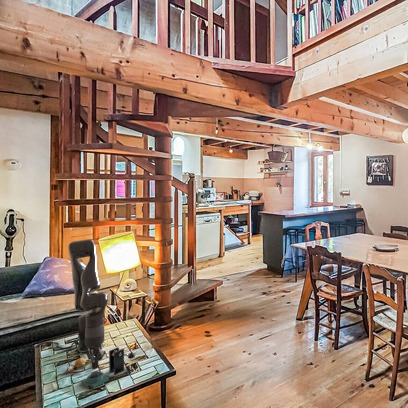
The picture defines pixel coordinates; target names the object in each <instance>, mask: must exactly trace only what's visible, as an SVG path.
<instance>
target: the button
mask: <svg viewBox="0 0 408 408" xmlns="http://www.w3.org/2000/svg"><path fill="white" fill-rule="evenodd" d="M100 372H101V371H99V370H95V371H93V372H91V373H90V375H91V378H97V377H99V376H100Z"/></svg>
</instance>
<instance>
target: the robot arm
mask: <svg viewBox="0 0 408 408" xmlns="http://www.w3.org/2000/svg"><path fill="white" fill-rule="evenodd" d="M67 250H68V256H69V260H70V265H71V278H72V285H73V291H74V292H73V293H74V309H75V310H76V311H88V312H86V313H84V314H81V315H80V316H78V318H77V328H78V329H77V331H78V333H77V339H74V341H73V342H72V343H71V344H70V346H67V347H63V346H60V343H59V342H57V341H45V342H41V343H39V344H37V345H36V346H35V347H36V348H38V347H40V346H42V345H46V344H54V345H56V349H60V350H67V349H71V348H72V347H73V346H77V351H78V353H85V354H86V356H87V360H90V361H91V362H92V363H91V369H92V370H97V369H98V368H99V361H102V359H103V358H104V356H105V355H106V351H105V350H104V351H103V345H102V344H103V343H104V342H105V325H104V324H105V323H104V322H105V321H104V316H105V311H106V307H107V305H108V302H109V296H108V294H107V293H106V292H103V291H102V292H101V291H100V292H98V291H99V290H100V289H101V282H100V281H101V280H100V278H99V272H98V271H99V270H98V257H97V254H98V253H97V246H96V242H95V240H93V238H89V239H82V240H80V239H79V240H74V241H71V242H69V244H68V246H67ZM83 258H89V259H88V262H87V264H86V263H85V262H83V261H81V259H83Z"/></svg>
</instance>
